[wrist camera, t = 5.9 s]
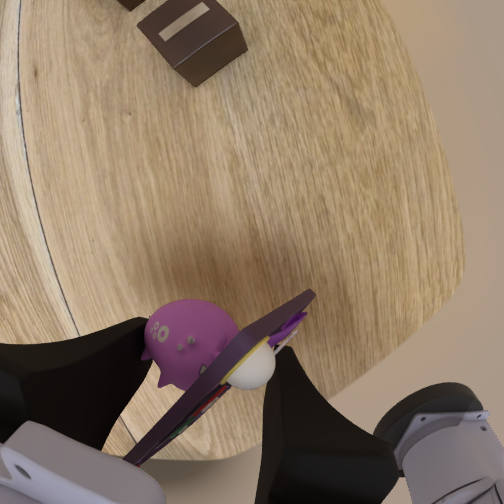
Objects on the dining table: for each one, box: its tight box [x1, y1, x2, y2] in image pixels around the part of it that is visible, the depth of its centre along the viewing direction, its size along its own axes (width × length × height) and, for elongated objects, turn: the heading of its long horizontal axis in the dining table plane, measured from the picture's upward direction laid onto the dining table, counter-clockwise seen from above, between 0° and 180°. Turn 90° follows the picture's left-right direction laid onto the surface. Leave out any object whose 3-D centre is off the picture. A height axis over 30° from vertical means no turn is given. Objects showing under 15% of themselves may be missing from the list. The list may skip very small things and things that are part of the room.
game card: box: [122, 288, 316, 467], centre depth 11 cm, size 7×5×9 cm
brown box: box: [137, 0, 248, 87], centre depth 15 cm, size 4×4×4 cm
